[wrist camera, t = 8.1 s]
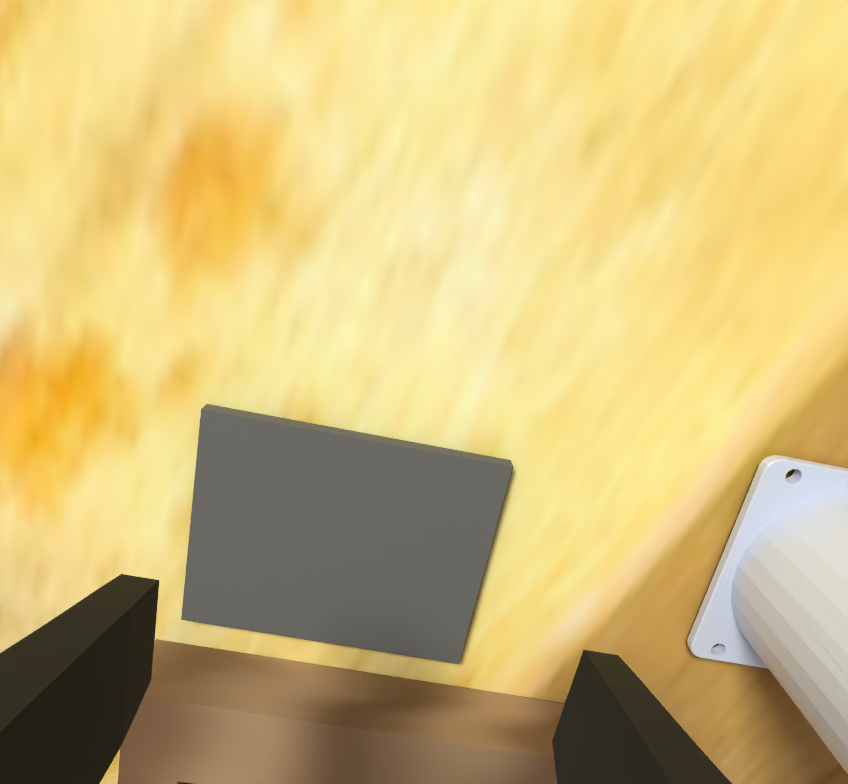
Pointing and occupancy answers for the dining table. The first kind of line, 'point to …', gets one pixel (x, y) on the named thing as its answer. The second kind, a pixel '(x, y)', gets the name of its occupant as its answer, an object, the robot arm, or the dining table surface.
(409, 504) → the mat
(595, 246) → the dining table surface
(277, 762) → the socket board
